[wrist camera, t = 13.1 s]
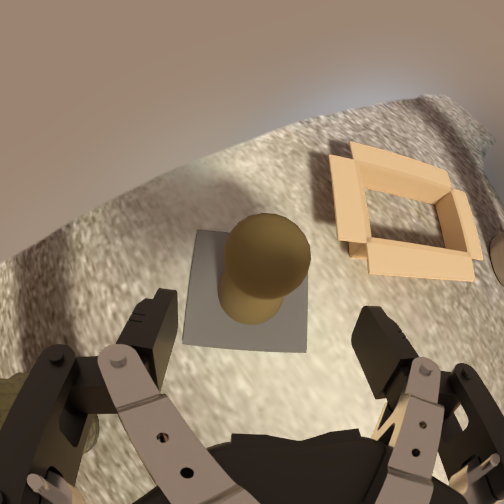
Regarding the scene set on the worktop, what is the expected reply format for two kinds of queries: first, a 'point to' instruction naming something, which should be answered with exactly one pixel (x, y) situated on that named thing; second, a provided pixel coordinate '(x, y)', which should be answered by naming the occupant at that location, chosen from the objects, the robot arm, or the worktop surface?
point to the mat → (224, 327)
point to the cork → (262, 267)
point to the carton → (410, 186)
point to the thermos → (6, 390)
